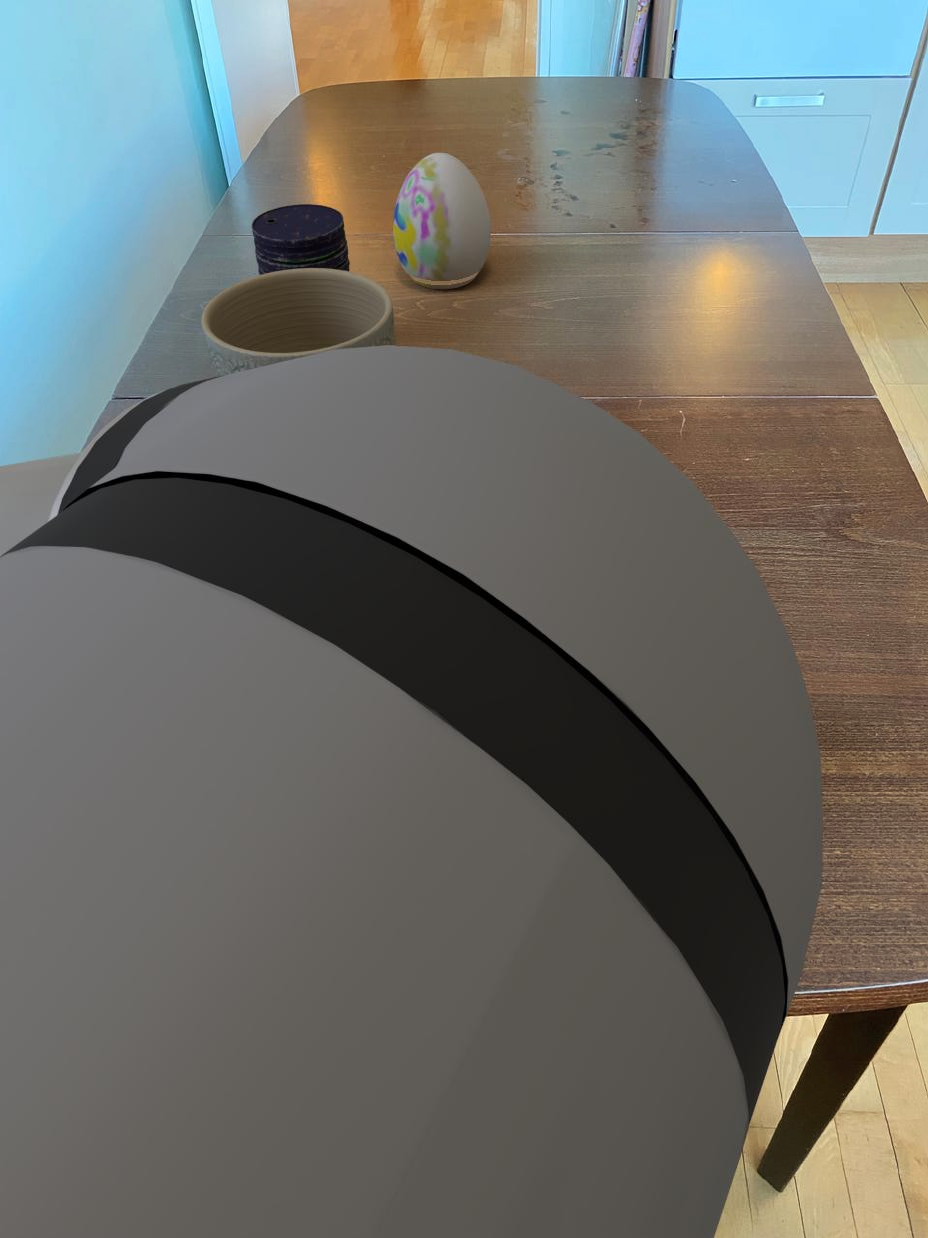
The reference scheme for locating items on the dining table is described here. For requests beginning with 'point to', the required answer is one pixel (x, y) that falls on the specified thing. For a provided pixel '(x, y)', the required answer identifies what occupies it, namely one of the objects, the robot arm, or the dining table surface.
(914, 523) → the dining table surface
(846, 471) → the dining table surface
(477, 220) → the decorative egg
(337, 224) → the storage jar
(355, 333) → the planter
